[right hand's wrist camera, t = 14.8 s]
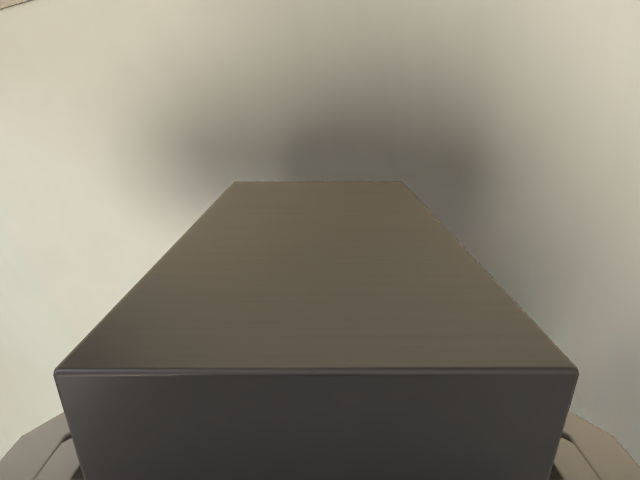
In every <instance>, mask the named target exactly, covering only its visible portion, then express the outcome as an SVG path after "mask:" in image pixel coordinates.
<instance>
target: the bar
mask: <svg viewBox="0 0 640 480" xmlns="http://www.w3.org/2000/svg"><path fill="white" fill-rule="evenodd" d="M53 376H54V379H55V383H56V386H57V389H58V393H59V396H60V399H61V403H62V406H63V410H64V413H65V416H66V420H67V423H68V427H69V430H70V433H71V437H72V440H73V443H74V447H75V450H76V454H77V457H78V460H79V464H80V467H81V470H82V474H83V477H84V480H549V477H550V474H551V470H552V467H553V463H554V460H555V456H556V453H557V449H558V446H559V442H560V439H561V435H562V432H563V428H564V425H565V421H566V418H567V414H568V411H569V407H570V404H571V400H572V397H573V393H574V390H575V386H576V383H577V380H578V376H579V373H578V369H577V367H576V366H575V365H574V364H573V363H572V362H571V361H570V360H569V359H568V358H567V357H566V356H565V354H564V353H563V352H562V351H561V350H560V349H559V348H558V347H557V346H556V345H555V344H554V343H553V342H552V341H551V340H550V339H549V337H548V336H547V335H546V334H545V333H544V332H543V331H542V330H541V329H540V328H539V327H538V326H537V325H536V324H535V323H534V322H533V320H532V319H531V318H530V317H529V316H528V315H527V314H526V313H525V312H524V311H523V310H522V309H521V308H520V307H519V306H518V305H517V303H516V302H515V301H514V300H513V299H512V298H511V297H510V296H509V295H508V294H507V293H506V292H505V291H504V290H503V289H502V287H501V286H500V285H499V284H498V283H497V282H496V281H495V280H494V279H493V278H492V277H491V276H490V275H489V274H488V273H487V272H486V270H485V269H484V268H483V267H482V266H481V265H480V264H479V263H478V262H477V261H476V260H475V259H474V258H473V257H472V256H471V255H470V253H469V252H468V251H467V250H466V249H465V248H464V247H463V246H462V245H461V244H460V243H459V242H458V241H457V240H456V239H455V238H454V236H453V235H452V234H451V233H450V232H449V231H448V230H447V229H446V228H445V227H444V226H443V225H442V224H441V223H440V222H439V220H438V219H437V218H436V217H435V216H434V215H433V214H432V213H431V212H430V211H429V210H428V209H427V208H426V207H425V206H424V205H423V203H422V202H421V201H420V200H419V199H418V198H417V197H416V196H415V195H414V194H413V193H412V192H411V191H410V190H409V189H408V188H407V186H406V185H405V184H404V183H403V182H234V183H233V184H232V185H231V186H230V187H229V188H228V189H227V190H226V191H225V192H224V193H223V194H222V195H221V196H220V197H219V198H218V199H217V201H216V202H215V203H214V204H213V205H212V206H211V207H210V208H209V209H208V210H207V211H206V212H205V213H204V214H203V215H202V216H201V217H200V218H199V219H198V220H197V221H196V222H195V223H194V224H193V226H192V227H191V228H190V229H189V230H188V231H187V232H186V233H185V234H184V235H183V236H182V237H181V238H180V239H179V240H178V241H177V242H176V243H175V244H174V245H173V246H172V247H171V248H170V250H169V251H168V252H167V253H166V254H165V255H164V256H163V257H162V258H161V259H160V260H159V261H158V262H157V263H156V264H155V265H154V266H153V267H152V268H151V269H150V270H149V271H148V272H147V273H146V275H145V276H144V277H143V278H142V279H141V280H140V281H139V282H138V283H137V284H136V285H135V286H134V287H133V288H132V289H131V290H130V291H129V292H128V293H127V294H126V295H125V296H124V297H123V298H122V300H121V301H120V302H119V303H118V304H117V305H116V306H115V307H114V308H113V309H112V310H111V311H110V312H109V313H108V314H107V315H106V316H105V317H104V318H103V319H102V320H101V321H100V322H99V323H98V325H97V326H96V327H95V328H94V329H93V330H92V331H91V332H90V333H89V334H88V335H87V336H86V337H85V338H84V339H83V340H82V341H81V342H80V343H79V344H78V345H77V346H76V347H75V348H74V350H73V351H72V352H71V353H70V354H69V355H68V356H67V357H66V358H65V359H64V360H63V361H62V362H61V363H60V364H59V365H58V366H57V367H56V368H55V370H54V375H53Z"/></svg>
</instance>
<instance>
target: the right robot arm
mask: <svg viewBox="0 0 640 480" xmlns="http://www.w3.org/2000/svg"><path fill="white" fill-rule="evenodd" d="M0 480H84V477H83V474H82V470H81V467H80V464H79V460H78V457H77V454H76V450H75V447H74V443H73V440H72V437H71V433H70V430H69V427H68V423H67V420H66V416H65V413H64V412H63V413H62V414H60V415H58V416H56V417H55V418H53V419H51V420H49V421H48V422H46V423H44V424H42V425H41V426H39V427H37V428H35V429H34V430H32V431H30V432H28V433H27V434H25V435H23V436H22V437H21V438H20V439H19V440H18V441H17V442H16V443H15V444H14V446H13V447H12V448H11V449H10V450H9V451H8V452H7V454H6V455H5V456H4V457H3V458H2V459H1V460H0ZM549 480H640V467H639V466H638V464H637V463H636V462H635V461H634V460H633V459H632V457H631V456H630V455H629V454H628V453H627V452H626V450H625V449H624V448H623V447H622V446H621V445H620V443H619V442H618V441H617V440H616V439H615V438H614V437H613V436H611V435H610V434H608V433H606V432H604V431H603V430H601V429H599V428H598V427H596V426H594V425H592V424H591V423H589V422H587V421H585V420H584V419H582V418H580V417H579V416H577V415H575V414H573V413H572V412H570V411H568V414H567V418H566V421H565V425H564V428H563V432H562V435H561V439H560V442H559V446H558V449H557V453H556V456H555V460H554V463H553V467H552V470H551V474H550V477H549Z"/></svg>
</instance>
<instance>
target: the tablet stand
mask: <svg viewBox="0 0 640 480" xmlns="http://www.w3.org/2000/svg"><path fill="white" fill-rule="evenodd" d="M25 1H28V0H0V9H1V8H5V7H8V6H11V5H15V4H18V3H22V2H25Z"/></svg>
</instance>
